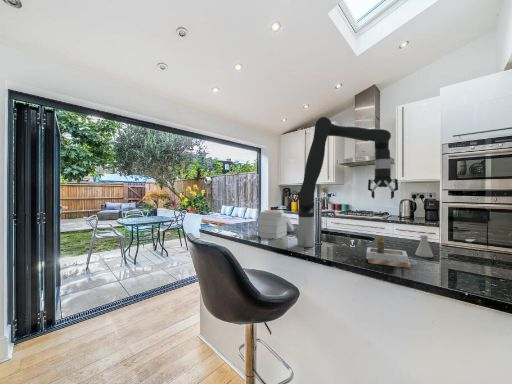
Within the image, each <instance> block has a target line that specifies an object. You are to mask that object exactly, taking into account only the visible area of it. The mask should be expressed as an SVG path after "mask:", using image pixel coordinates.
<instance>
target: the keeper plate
mask: <svg viewBox="0 0 512 384" xmlns="http://www.w3.org/2000/svg"><path fill="white" fill-rule="evenodd" d="M376 239H377V240H376V241H377V248H378V253H384V249H385V239H384V237H383V236H379V237H377V238H376ZM367 261H368V262H367V263H368V264H374V265H375V264H376V265H381V266H383V265H385V266H390V267H391V266H392V267H400V268H407V269H410V268H411V263H410V260H409V259H408V263H400V262H391V261H382V260H374V259H367Z"/></svg>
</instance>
